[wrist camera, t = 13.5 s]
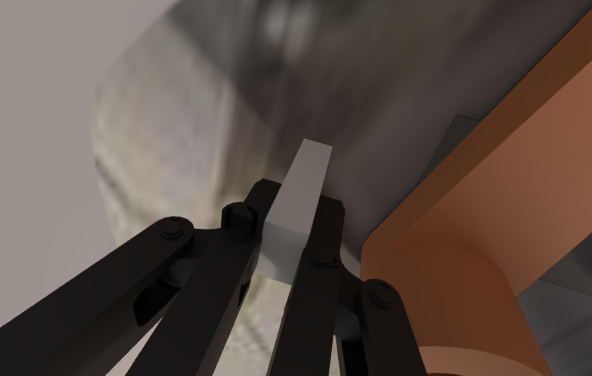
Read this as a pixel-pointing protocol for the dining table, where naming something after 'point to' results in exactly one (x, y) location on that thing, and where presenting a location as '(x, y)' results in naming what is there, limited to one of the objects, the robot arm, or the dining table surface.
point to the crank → (495, 221)
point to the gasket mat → (569, 269)
